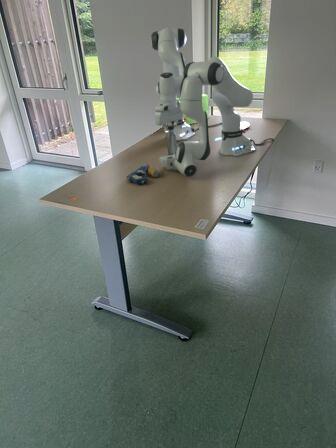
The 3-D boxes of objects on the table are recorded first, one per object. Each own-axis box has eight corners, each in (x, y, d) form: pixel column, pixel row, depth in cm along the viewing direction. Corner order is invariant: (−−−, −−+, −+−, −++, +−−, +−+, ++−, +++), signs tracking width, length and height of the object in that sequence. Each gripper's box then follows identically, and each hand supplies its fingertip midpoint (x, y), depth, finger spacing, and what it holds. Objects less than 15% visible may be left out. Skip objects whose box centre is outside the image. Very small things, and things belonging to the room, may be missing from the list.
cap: (167, 130, 192) (167, 127, 192) (167, 128, 196) (167, 125, 195) (174, 129, 192) (173, 126, 191) (174, 127, 196) (173, 125, 195)
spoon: (243, 140, 236) (243, 137, 234) (228, 139, 239) (228, 137, 238) (251, 123, 262) (251, 121, 261) (237, 123, 266) (237, 120, 264)
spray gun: (164, 171, 194) (142, 169, 200) (163, 164, 191) (141, 162, 198) (147, 187, 178) (123, 184, 185) (146, 179, 176) (122, 177, 182)
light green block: (191, 115, 302) (190, 88, 290) (208, 118, 288) (208, 90, 276) (170, 121, 289) (168, 93, 277) (187, 125, 275) (185, 95, 263)
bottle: (179, 163, 204) (177, 127, 192) (171, 165, 202) (168, 129, 190) (175, 160, 208) (172, 125, 197) (167, 162, 206) (164, 127, 195)
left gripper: (176, 100, 195) (178, 124, 202) (152, 108, 183) (154, 133, 190) (185, 101, 191) (186, 125, 198) (160, 109, 179) (162, 134, 186)
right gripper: (196, 153, 192) (187, 146, 204) (163, 159, 187) (155, 152, 199) (197, 163, 196) (188, 156, 207) (164, 170, 191) (156, 162, 202)
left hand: (170, 129), depth 194 cm, fingers open, 6 cm apart
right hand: (172, 154), depth 203 cm, fingers closed on bottle, 5 cm apart
